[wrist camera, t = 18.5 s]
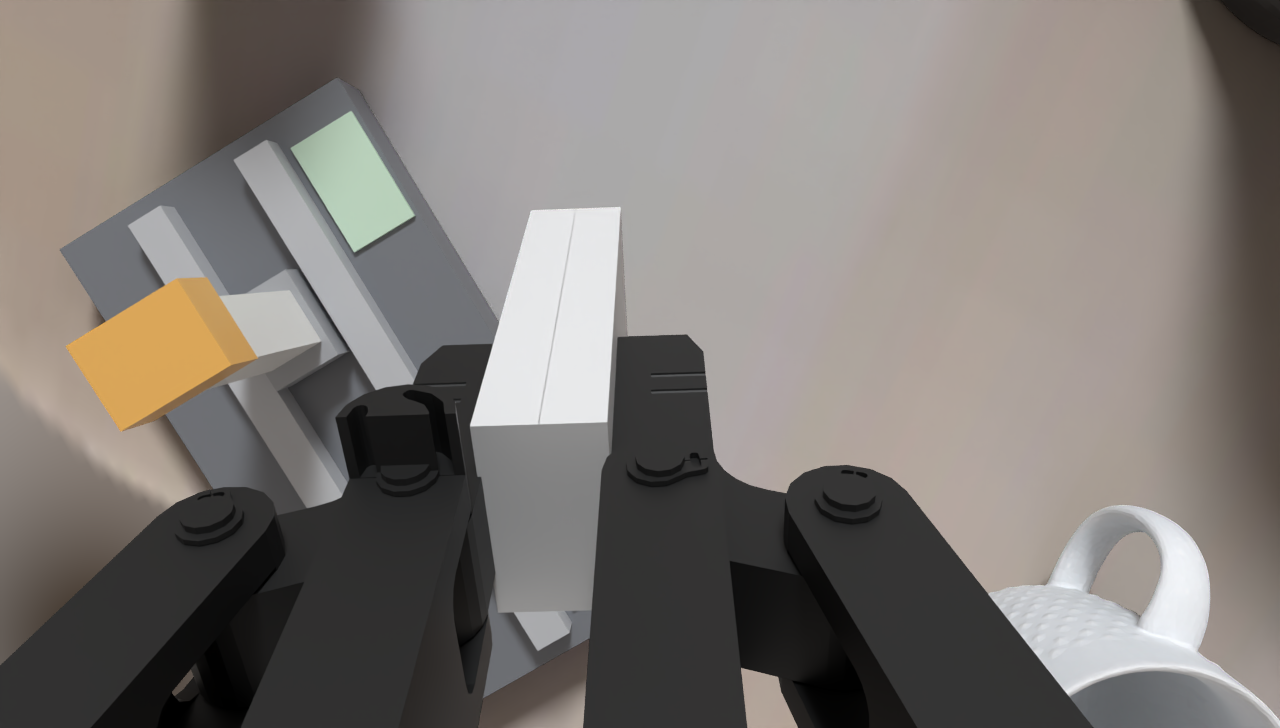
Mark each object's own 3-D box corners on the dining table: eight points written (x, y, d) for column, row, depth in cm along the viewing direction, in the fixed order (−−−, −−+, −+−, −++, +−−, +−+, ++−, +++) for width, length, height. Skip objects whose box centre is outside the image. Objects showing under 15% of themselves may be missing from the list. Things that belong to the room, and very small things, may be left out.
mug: (971, 438, 45) (1102, 510, 32) (1195, 514, 45) (1415, 616, 32) (859, 731, 46) (940, 914, 33) (1077, 803, 47) (1241, 1012, 34)
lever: (360, 345, 41) (240, 379, 29) (281, 392, 42) (129, 445, 30) (309, 262, 41) (167, 263, 29) (229, 311, 41) (56, 331, 29)
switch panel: (654, 579, 46) (654, 611, 42) (401, 723, 47) (376, 768, 42) (358, 89, 44) (327, 71, 39) (99, 250, 44) (42, 249, 40)
